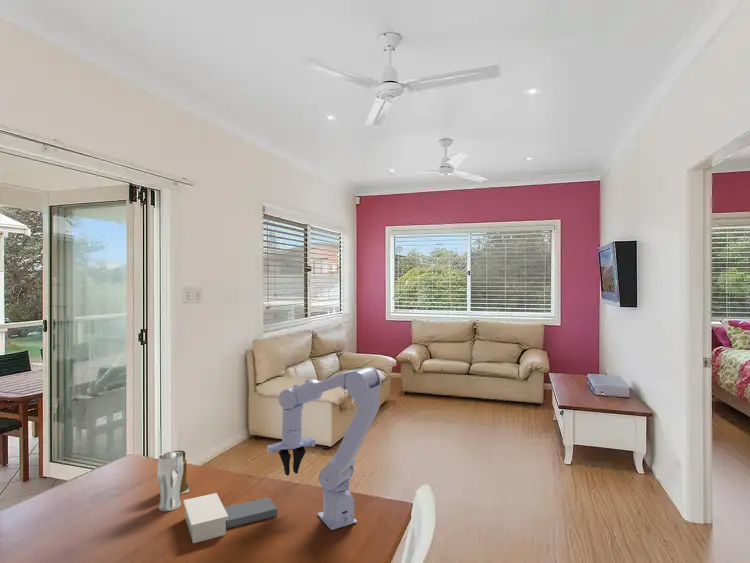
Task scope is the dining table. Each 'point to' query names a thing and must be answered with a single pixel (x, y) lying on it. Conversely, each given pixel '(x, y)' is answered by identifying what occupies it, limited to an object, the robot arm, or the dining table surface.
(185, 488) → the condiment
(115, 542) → the dining table surface
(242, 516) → the slate tile
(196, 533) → the white rectangular block
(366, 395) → the robot arm
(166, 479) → the beer glass
